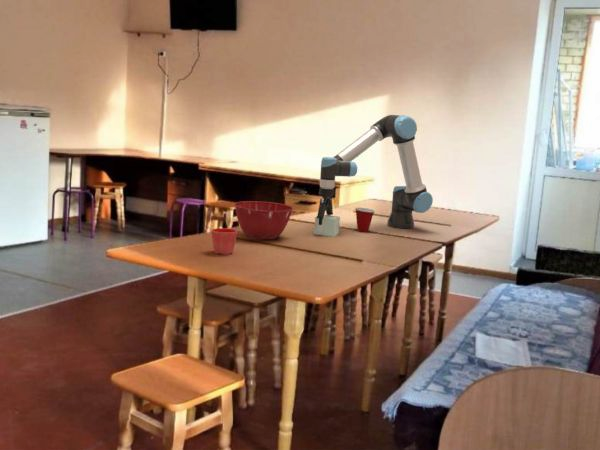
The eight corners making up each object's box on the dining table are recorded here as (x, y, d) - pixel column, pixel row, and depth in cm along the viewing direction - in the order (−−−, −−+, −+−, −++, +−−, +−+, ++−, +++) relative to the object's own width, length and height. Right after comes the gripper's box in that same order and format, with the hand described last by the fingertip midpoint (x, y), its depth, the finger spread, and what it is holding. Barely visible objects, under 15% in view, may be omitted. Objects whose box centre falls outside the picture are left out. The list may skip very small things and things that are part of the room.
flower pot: (211, 249, 296) (211, 227, 294) (236, 250, 297) (237, 228, 295) (209, 254, 286) (210, 231, 284) (236, 255, 287) (237, 233, 285)
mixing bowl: (299, 235, 340) (301, 205, 338) (278, 245, 314) (280, 212, 311) (247, 229, 349) (248, 199, 347) (222, 238, 323) (224, 205, 320)
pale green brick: (338, 233, 354) (339, 216, 352) (333, 236, 344) (334, 219, 343) (319, 231, 357) (320, 214, 355) (314, 234, 347) (315, 217, 346)
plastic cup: (372, 233, 360) (374, 211, 358) (351, 231, 362) (353, 209, 360) (374, 230, 370) (376, 208, 368) (354, 228, 372) (356, 206, 370)
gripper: (326, 185, 360) (323, 224, 364) (312, 189, 336) (309, 231, 340) (340, 186, 358) (337, 226, 361) (327, 190, 334) (324, 233, 338)
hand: (324, 229), depth 351 cm, fingers open, 13 cm apart
